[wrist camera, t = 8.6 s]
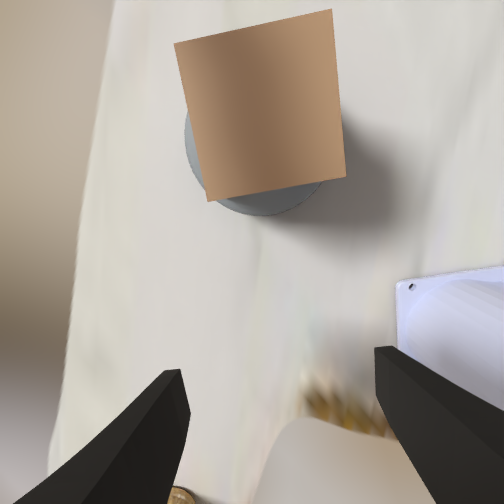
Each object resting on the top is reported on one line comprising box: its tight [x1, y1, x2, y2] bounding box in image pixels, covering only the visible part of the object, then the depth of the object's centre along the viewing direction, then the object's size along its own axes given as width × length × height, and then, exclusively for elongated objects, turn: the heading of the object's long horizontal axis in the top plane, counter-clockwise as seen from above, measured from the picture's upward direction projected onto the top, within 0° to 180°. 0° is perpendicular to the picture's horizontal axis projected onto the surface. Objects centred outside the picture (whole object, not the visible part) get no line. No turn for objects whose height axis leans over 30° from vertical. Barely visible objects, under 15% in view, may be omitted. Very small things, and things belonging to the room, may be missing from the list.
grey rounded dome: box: [185, 112, 322, 216], centre depth 15 cm, size 8×8×3 cm
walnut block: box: [174, 9, 346, 202], centre depth 11 cm, size 5×5×5 cm
